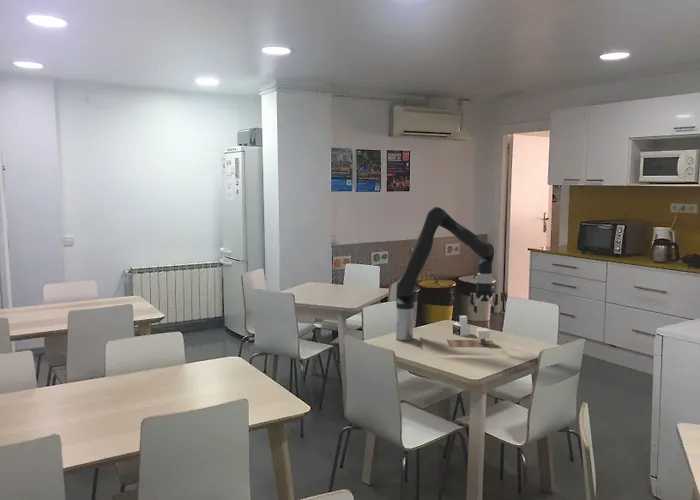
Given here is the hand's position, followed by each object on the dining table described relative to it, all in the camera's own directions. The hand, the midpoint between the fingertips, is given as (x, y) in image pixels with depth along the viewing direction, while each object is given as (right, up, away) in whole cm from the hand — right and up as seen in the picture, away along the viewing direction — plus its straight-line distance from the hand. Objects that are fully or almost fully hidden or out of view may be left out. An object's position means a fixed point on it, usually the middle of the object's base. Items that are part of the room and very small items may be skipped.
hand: (483, 312), depth 289 cm
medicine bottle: (-7, -16, +22) cm, 28 cm away
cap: (0, -13, +1) cm, 13 cm away
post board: (-6, -18, +2) cm, 19 cm away
